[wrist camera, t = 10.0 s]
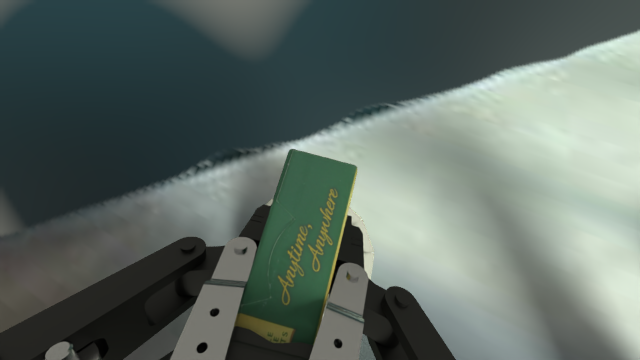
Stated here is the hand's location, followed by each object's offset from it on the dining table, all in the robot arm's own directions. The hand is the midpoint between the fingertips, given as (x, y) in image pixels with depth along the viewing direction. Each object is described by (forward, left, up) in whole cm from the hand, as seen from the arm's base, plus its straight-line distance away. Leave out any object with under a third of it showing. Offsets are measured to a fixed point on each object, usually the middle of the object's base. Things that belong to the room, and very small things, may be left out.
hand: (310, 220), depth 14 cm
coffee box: (0, +2, -8) cm, 8 cm away
